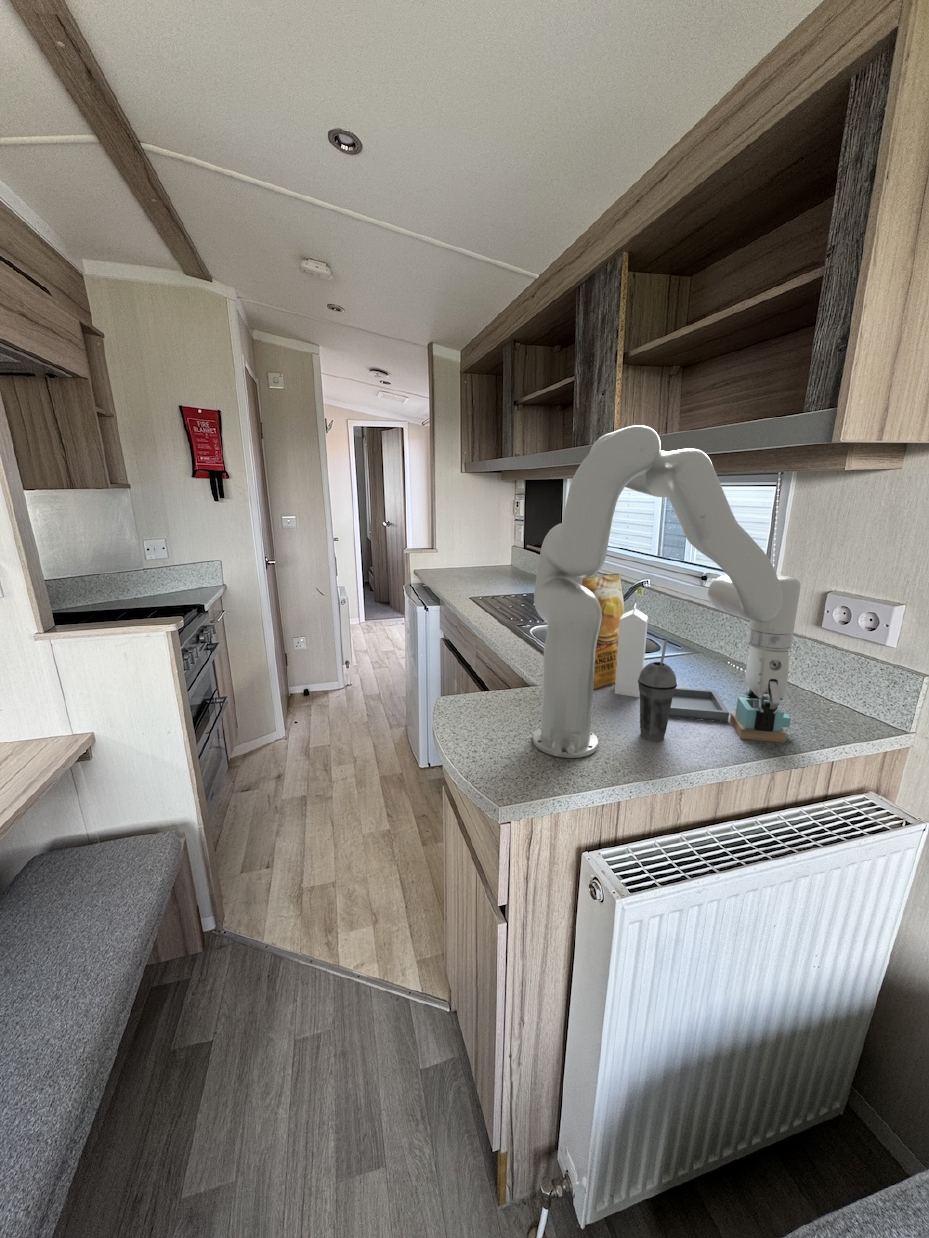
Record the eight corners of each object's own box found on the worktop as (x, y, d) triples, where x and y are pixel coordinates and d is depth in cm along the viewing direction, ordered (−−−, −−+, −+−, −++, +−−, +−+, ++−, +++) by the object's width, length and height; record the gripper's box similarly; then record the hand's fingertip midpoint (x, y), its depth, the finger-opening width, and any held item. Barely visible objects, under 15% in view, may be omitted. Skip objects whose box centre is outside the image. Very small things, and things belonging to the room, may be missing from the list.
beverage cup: (625, 731, 104) (633, 638, 100) (654, 725, 107) (662, 634, 102) (650, 747, 98) (659, 648, 93) (679, 741, 100) (690, 644, 96)
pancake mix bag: (563, 685, 130) (568, 577, 123) (613, 671, 140) (620, 571, 133) (583, 694, 124) (589, 581, 118) (633, 678, 135) (641, 574, 128)
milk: (614, 694, 124) (619, 606, 119) (617, 685, 130) (622, 601, 124) (640, 697, 122) (647, 608, 117) (642, 689, 127) (649, 603, 122)
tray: (727, 722, 109) (729, 712, 108) (663, 716, 112) (664, 707, 111) (713, 699, 121) (715, 690, 120) (656, 694, 124) (657, 685, 123)
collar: (793, 732, 99) (796, 713, 98) (744, 728, 101) (747, 709, 100) (781, 718, 106) (784, 700, 105) (735, 714, 108) (737, 696, 107)
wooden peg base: (784, 742, 100) (789, 712, 98) (740, 738, 101) (744, 708, 100) (771, 725, 107) (775, 696, 106) (729, 721, 109) (733, 693, 107)
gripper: (809, 652, 90) (794, 744, 95) (775, 628, 107) (764, 707, 111) (762, 650, 92) (750, 740, 96) (736, 626, 109) (726, 704, 113)
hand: (757, 721), depth 104 cm, fingers closed on collar, 6 cm apart
